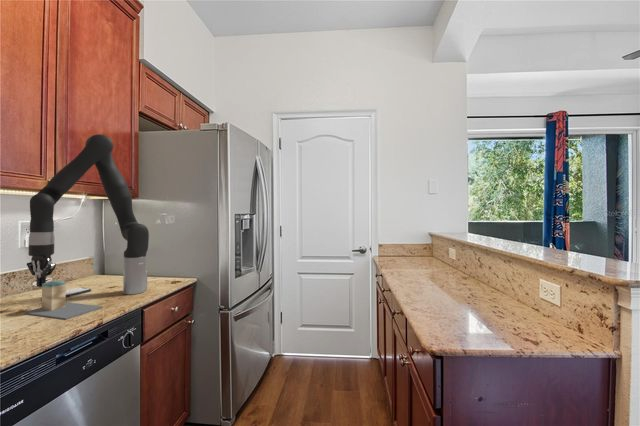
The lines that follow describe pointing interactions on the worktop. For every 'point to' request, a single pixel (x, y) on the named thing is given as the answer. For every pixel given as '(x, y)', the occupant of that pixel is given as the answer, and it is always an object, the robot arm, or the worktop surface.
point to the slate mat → (64, 311)
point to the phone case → (77, 291)
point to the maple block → (53, 295)
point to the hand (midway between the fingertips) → (41, 286)
